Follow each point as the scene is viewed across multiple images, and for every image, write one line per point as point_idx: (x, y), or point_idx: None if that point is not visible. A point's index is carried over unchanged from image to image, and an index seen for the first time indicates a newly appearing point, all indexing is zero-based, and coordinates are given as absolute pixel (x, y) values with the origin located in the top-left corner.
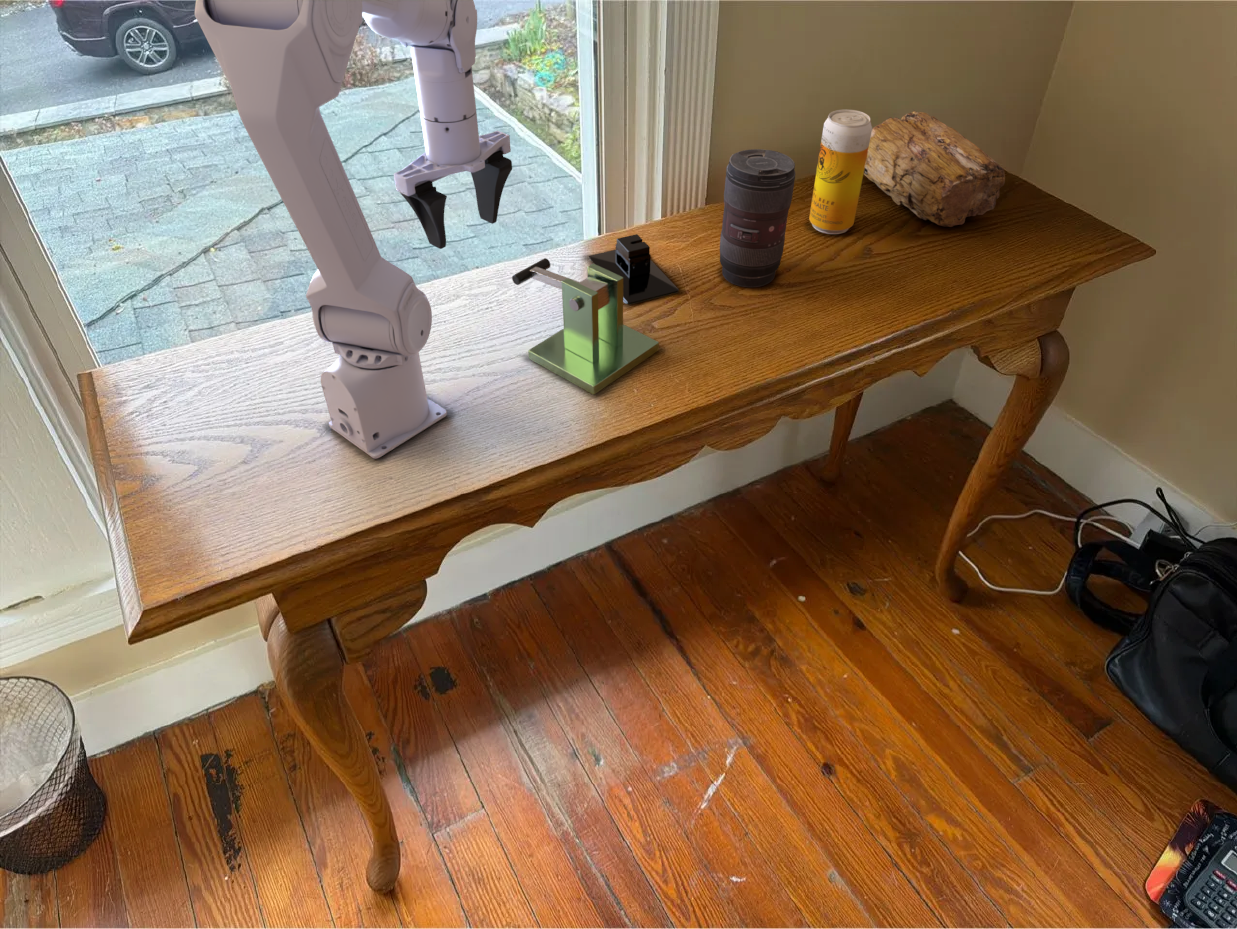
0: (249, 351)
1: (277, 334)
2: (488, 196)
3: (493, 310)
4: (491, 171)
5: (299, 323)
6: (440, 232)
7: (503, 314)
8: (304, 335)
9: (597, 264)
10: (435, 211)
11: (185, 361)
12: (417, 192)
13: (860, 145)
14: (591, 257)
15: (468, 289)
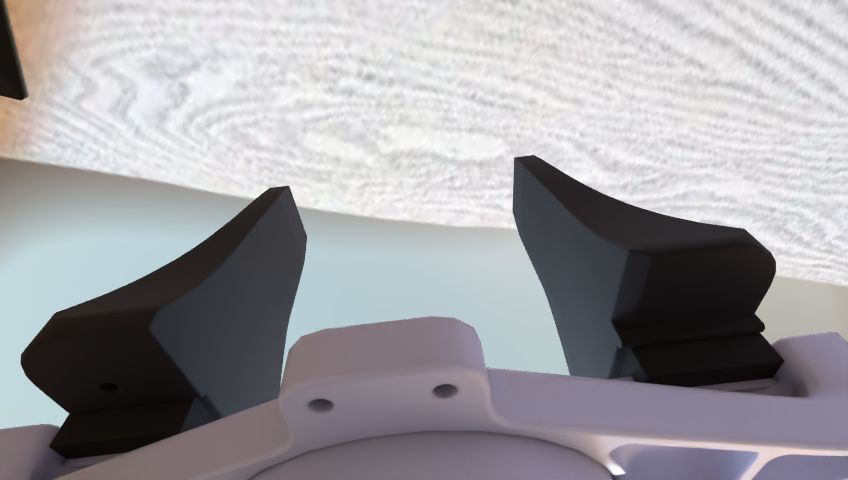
0: None
1: None
2: (263, 263)
3: (361, 60)
4: (202, 343)
5: None
6: (564, 176)
7: (350, 26)
8: None
9: (5, 46)
10: (655, 218)
11: (802, 262)
12: (753, 340)
13: None
14: (16, 87)
15: (361, 167)
